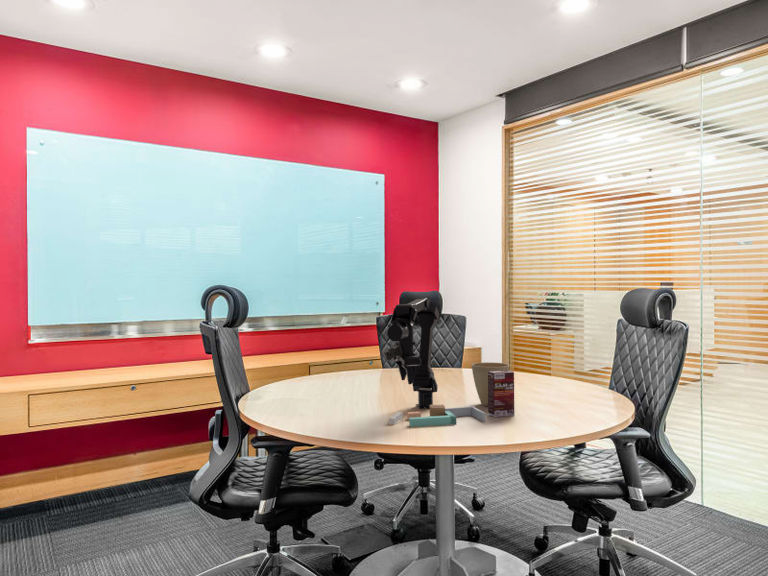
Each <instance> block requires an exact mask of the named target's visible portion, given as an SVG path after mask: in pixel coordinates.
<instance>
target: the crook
mask: <svg viewBox="0 0 768 576" xmlns="http://www.w3.org/2000/svg"><path fill="white" fill-rule="evenodd" d="M408 423H409V424H408V425H410V426H411V427H410V426H409V427H410V428H415V427H414V426H419V427H432V426H433V425H436V426H449V425H450V424H453V425H457V417H456V416H455V415H454V414H452V413H451V412H450V411H445V416H430V415H429V416H421V417H413V418H409V420H408ZM430 425H432V426H430ZM450 426H451V425H450Z"/></svg>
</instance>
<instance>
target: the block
mask: <svg viewBox="0 0 768 576" xmlns="http://www.w3.org/2000/svg"><path fill="white" fill-rule="evenodd" d="M445 408H446V406H445V405H444V404H433V405H430V408H429V417H430V416H445Z"/></svg>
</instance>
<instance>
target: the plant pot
mask: <svg viewBox="0 0 768 576" xmlns="http://www.w3.org/2000/svg"><path fill="white" fill-rule="evenodd" d="M471 370H472V376H473V381H474V382H473V383H474V385H475V389H476V393H477V396H478V399H479V401H480V402H479V403H481V405H482V406H484V407H488V372H491V371H507V370H508V371H510V364H508V363H504V362H474V363H472V364H471Z"/></svg>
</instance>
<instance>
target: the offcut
mask: <svg viewBox="0 0 768 576" xmlns="http://www.w3.org/2000/svg"><path fill="white" fill-rule="evenodd" d="M406 413H407V414H406V415H407V418H406V419H407V420H408V421H409V418H413V417H422V412H420V411H410V412H406Z"/></svg>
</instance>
